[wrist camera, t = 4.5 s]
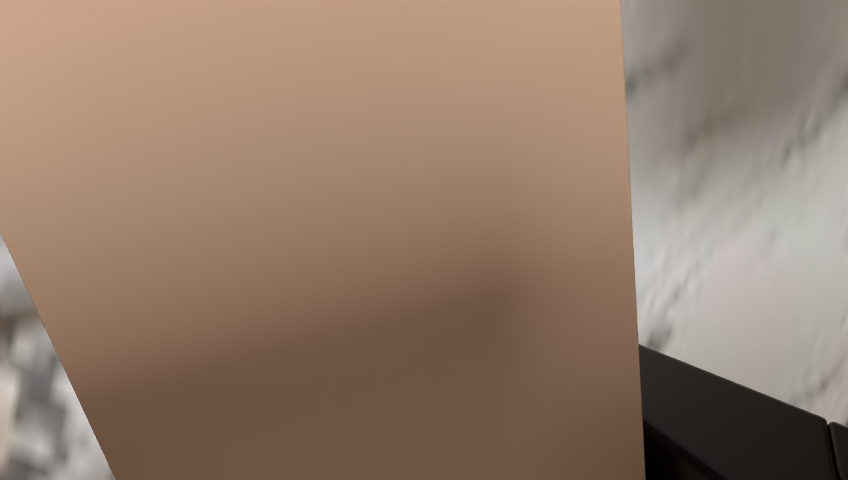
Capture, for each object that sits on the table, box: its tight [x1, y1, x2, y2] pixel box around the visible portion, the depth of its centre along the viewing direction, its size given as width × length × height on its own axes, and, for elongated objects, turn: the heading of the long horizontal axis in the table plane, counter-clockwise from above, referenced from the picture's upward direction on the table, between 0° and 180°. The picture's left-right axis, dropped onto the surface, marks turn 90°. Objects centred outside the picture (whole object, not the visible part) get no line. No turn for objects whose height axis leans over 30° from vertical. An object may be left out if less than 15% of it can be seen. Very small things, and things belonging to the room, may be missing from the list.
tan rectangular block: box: [0, 0, 645, 480], centre depth 8 cm, size 10×4×4 cm, turn 10°
